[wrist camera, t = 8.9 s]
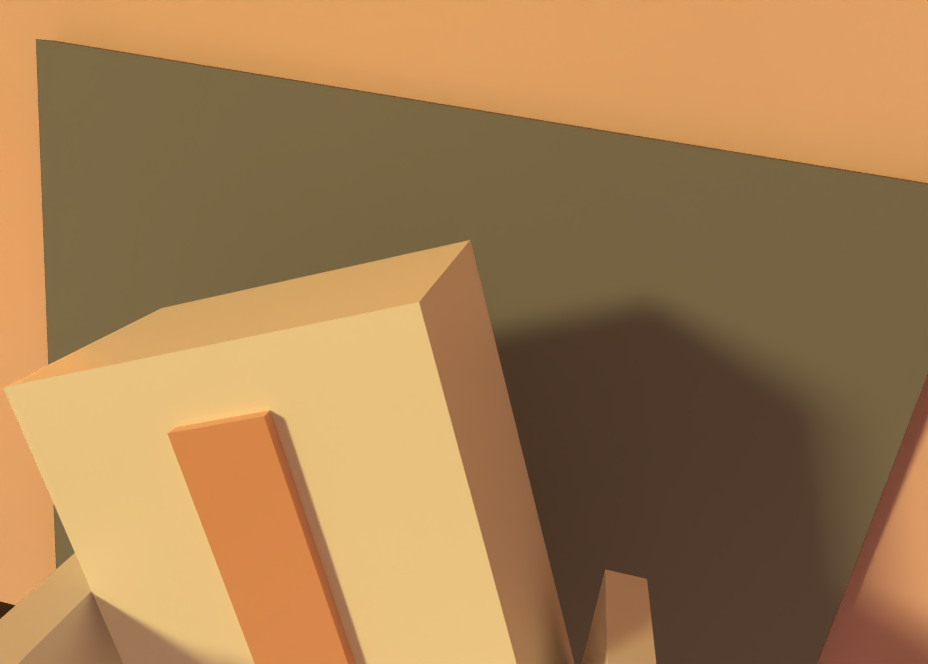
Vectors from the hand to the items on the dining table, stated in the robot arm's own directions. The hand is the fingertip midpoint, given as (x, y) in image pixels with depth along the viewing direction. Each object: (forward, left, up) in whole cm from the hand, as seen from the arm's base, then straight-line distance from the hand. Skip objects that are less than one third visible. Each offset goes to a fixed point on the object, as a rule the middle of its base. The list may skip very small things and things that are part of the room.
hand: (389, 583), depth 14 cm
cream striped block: (0, 0, -1) cm, 1 cm away
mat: (0, 0, -5) cm, 5 cm away
